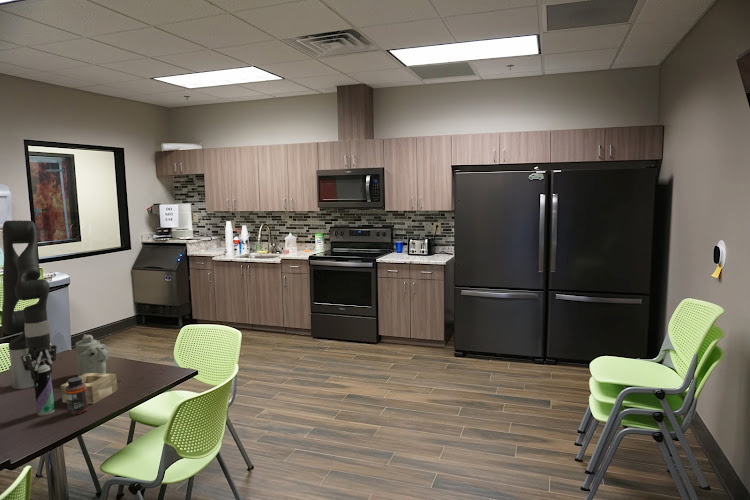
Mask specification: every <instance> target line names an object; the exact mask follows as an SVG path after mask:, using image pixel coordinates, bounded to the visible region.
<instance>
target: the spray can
mask: <svg viewBox="0 0 750 500" xmlns="http://www.w3.org/2000/svg"><path fill="white" fill-rule="evenodd" d="M37 370H38V375H39V380H34V386H33V387H34V392H35V393H34V394H35V401H36V402H35V404H36V411H37V415H38V416H47V415H51V414H53V413H54V412H55V403H54V402H55V401H54V392H53V383H52V374H51V372H50V366H49V365H46V364H45V363H44V361H43V360H40V364H39V365H38V369H37Z"/></svg>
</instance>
